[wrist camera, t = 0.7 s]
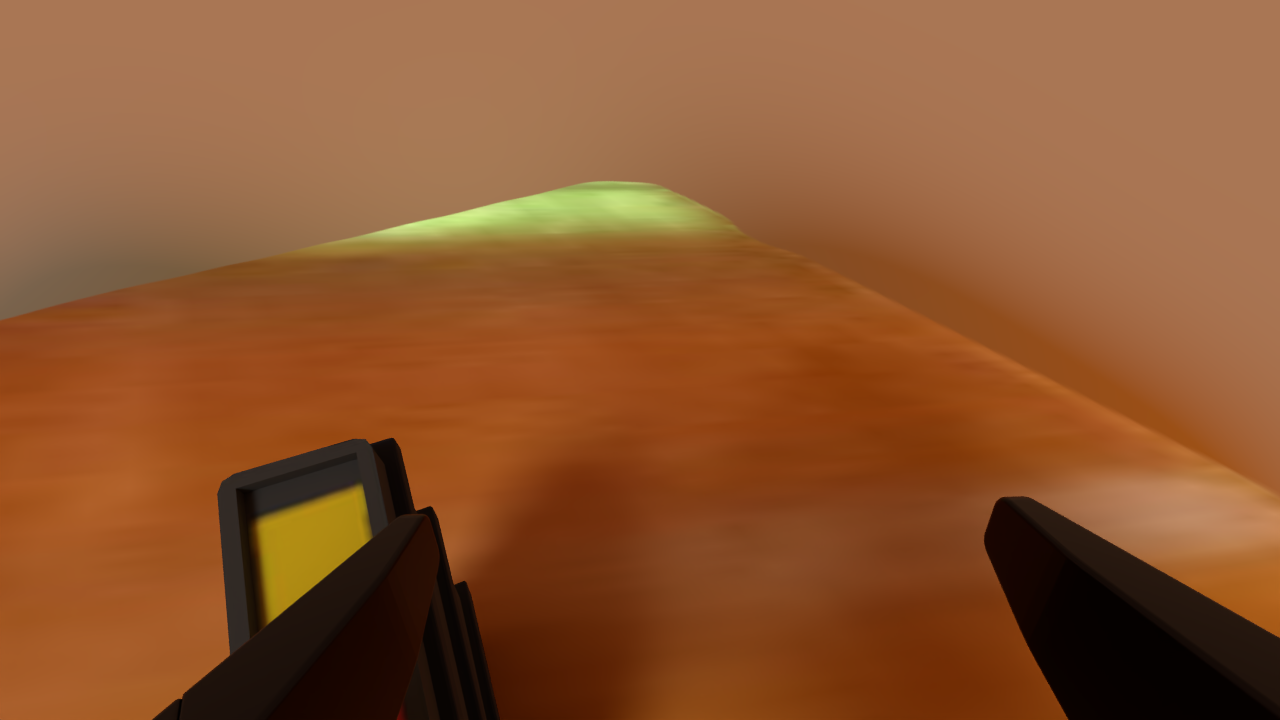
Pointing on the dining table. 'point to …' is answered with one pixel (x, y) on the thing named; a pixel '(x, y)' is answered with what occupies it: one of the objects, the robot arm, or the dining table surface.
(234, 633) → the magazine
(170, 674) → the dining table surface
